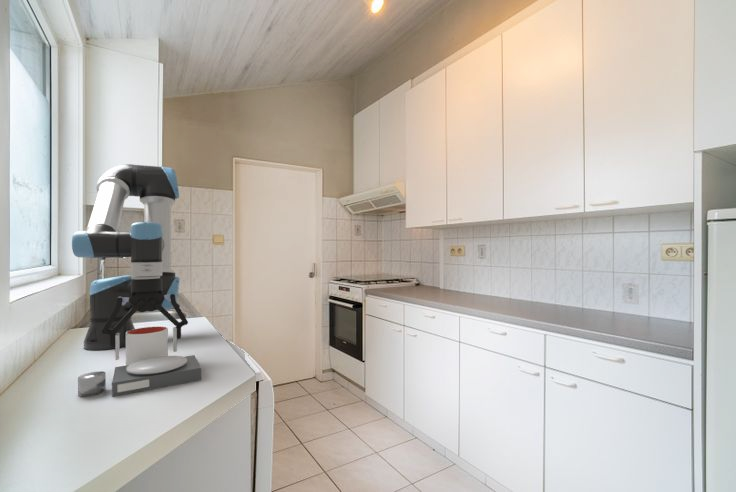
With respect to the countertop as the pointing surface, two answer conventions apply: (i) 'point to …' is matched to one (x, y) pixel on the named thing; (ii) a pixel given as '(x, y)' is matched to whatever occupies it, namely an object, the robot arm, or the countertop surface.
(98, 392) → the cylinder
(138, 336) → the cup
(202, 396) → the countertop surface
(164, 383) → the scale
